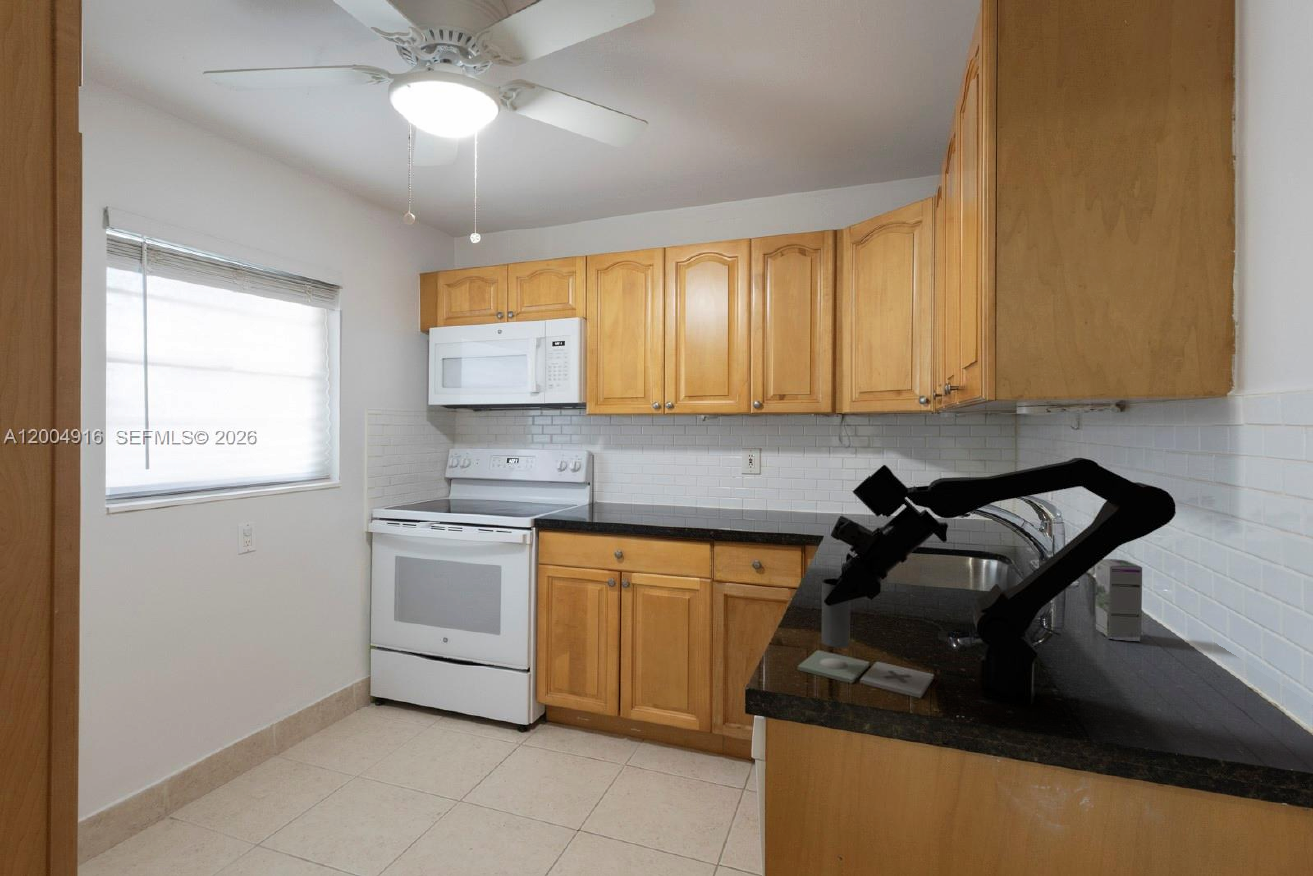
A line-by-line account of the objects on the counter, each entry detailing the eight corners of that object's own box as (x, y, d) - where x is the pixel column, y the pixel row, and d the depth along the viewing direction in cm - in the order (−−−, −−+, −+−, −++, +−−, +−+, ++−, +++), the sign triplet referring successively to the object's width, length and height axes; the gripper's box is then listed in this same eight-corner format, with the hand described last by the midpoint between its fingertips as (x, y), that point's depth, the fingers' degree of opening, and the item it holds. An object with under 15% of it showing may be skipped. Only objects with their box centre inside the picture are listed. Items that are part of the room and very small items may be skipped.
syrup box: (1142, 642, 118) (1145, 566, 118) (1107, 640, 120) (1109, 564, 119) (1126, 632, 124) (1128, 559, 124) (1092, 630, 125) (1095, 558, 125)
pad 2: (933, 678, 101) (933, 673, 101) (920, 698, 94) (920, 693, 94) (876, 665, 106) (876, 660, 106) (860, 683, 99) (860, 678, 99)
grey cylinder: (831, 636, 108) (832, 576, 108) (855, 643, 105) (855, 582, 104) (816, 642, 105) (816, 581, 105) (839, 650, 102) (840, 586, 101)
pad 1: (869, 665, 106) (869, 661, 106) (851, 683, 99) (851, 679, 99) (817, 653, 111) (817, 649, 111) (797, 669, 104) (797, 665, 104)
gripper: (865, 495, 111) (801, 552, 116) (857, 508, 94) (783, 575, 99) (912, 542, 109) (846, 599, 113) (913, 565, 91) (834, 631, 96)
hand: (827, 599), depth 105 cm, fingers closed on grey cylinder, 4 cm apart
